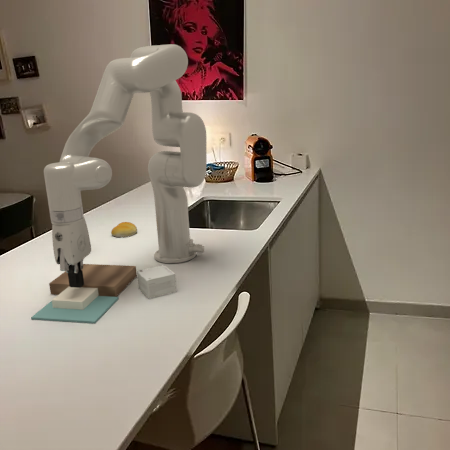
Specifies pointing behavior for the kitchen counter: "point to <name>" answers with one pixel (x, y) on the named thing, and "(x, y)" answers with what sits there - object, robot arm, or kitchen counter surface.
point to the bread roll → (124, 230)
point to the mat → (77, 311)
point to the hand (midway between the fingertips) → (77, 286)
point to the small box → (156, 281)
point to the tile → (75, 298)
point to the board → (99, 279)
